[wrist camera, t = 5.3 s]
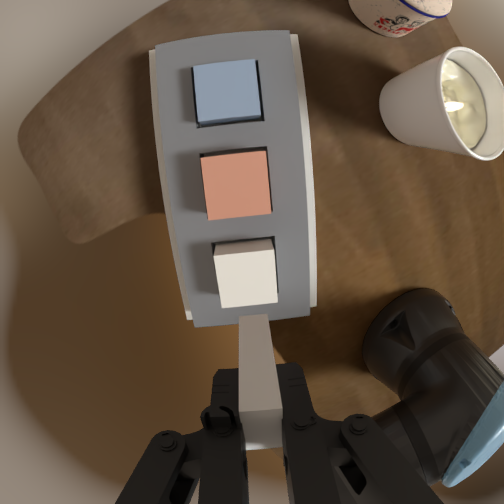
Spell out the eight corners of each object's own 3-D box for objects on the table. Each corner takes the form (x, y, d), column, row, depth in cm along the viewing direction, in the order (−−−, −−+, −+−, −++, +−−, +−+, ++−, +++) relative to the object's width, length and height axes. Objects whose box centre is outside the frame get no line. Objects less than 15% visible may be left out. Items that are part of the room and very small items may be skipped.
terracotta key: (267, 206, 25) (271, 213, 23) (211, 212, 25) (208, 220, 23) (262, 151, 24) (265, 150, 21) (204, 157, 24) (200, 157, 21)
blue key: (258, 119, 24) (260, 114, 21) (202, 125, 24) (198, 121, 21) (252, 69, 22) (254, 59, 19) (198, 75, 22) (193, 66, 19)
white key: (274, 287, 28) (277, 302, 25) (223, 292, 28) (221, 308, 25) (270, 238, 26) (274, 249, 24) (216, 244, 26) (213, 256, 24)
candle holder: (441, 154, 28) (513, 165, 16) (375, 150, 27) (445, 155, 16) (435, 78, 24) (503, 64, 13) (367, 65, 24) (429, 32, 13)
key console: (314, 302, 33) (323, 321, 29) (188, 316, 33) (183, 335, 29) (295, 36, 23) (304, 22, 19) (151, 53, 23) (139, 40, 19)
